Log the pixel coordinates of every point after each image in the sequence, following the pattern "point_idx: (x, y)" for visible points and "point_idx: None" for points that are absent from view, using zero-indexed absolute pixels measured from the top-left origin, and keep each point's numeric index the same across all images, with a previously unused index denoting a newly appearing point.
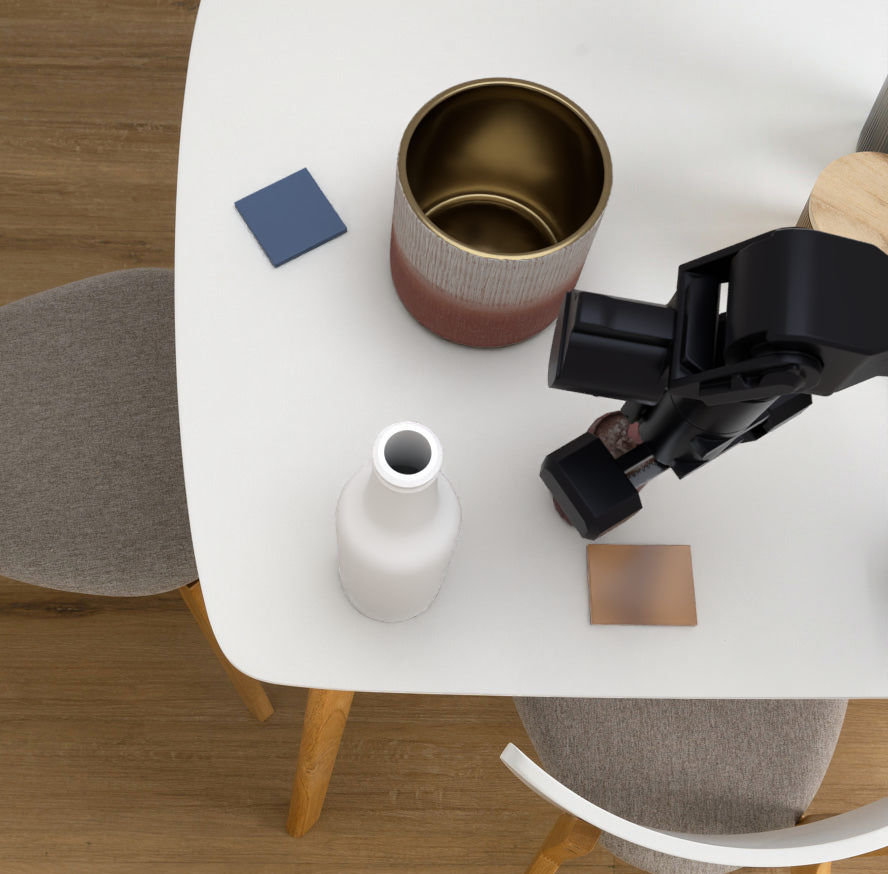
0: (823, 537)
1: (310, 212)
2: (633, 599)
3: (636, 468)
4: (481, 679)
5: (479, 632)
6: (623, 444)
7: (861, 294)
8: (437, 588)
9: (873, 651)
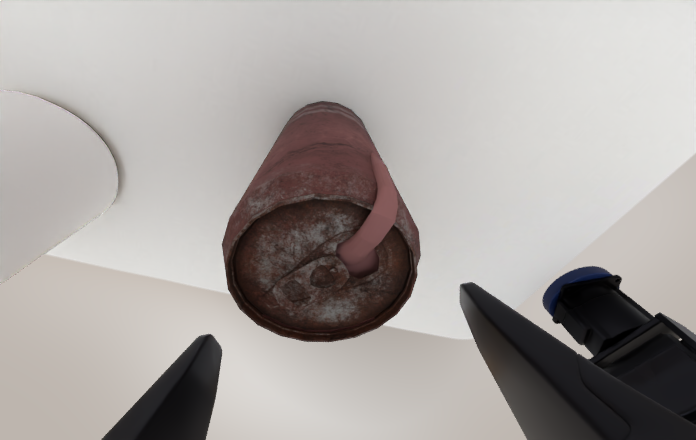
0: (526, 251)
1: None
2: None
3: (325, 319)
4: (168, 277)
5: (170, 242)
6: (318, 270)
7: None
8: (40, 256)
9: None
